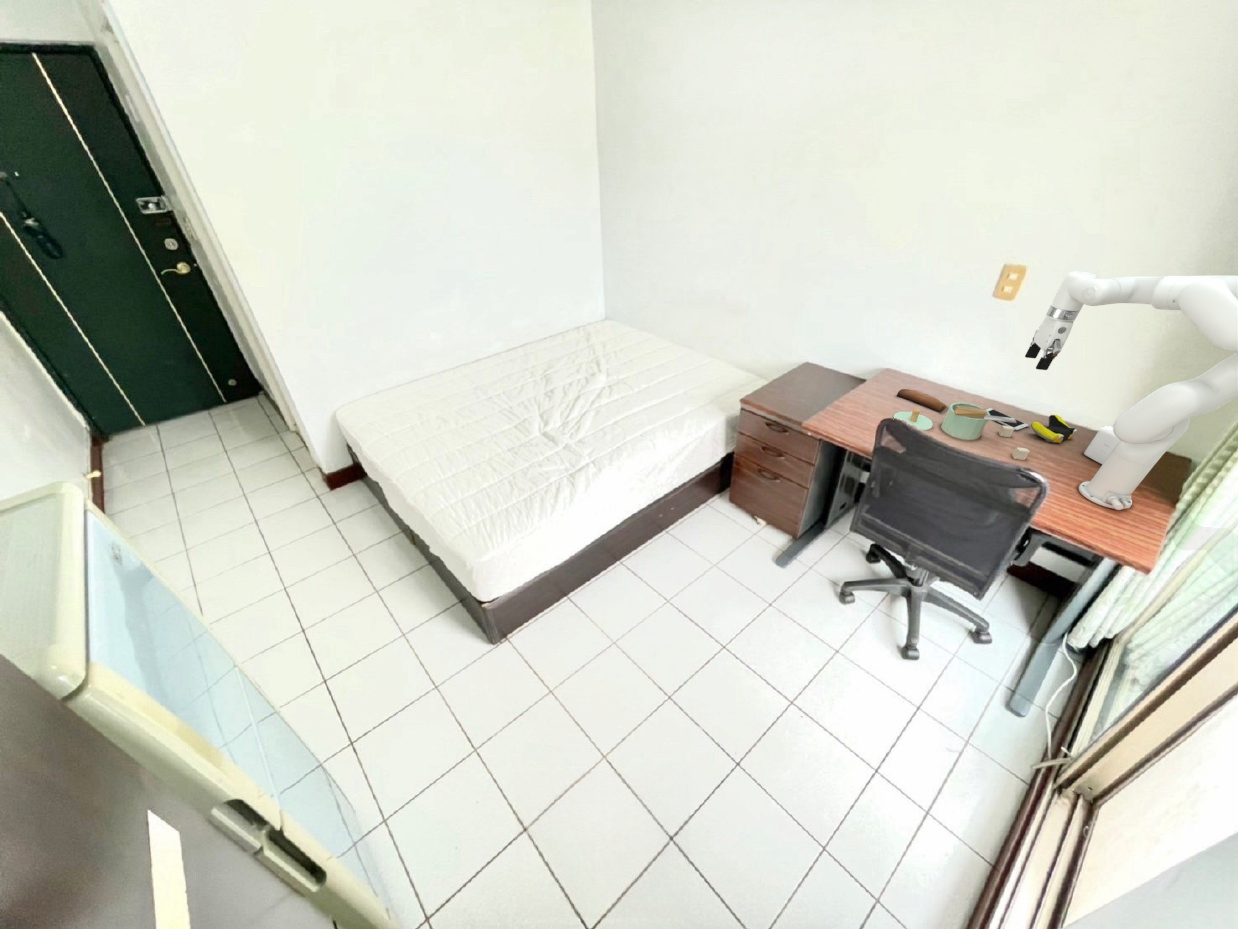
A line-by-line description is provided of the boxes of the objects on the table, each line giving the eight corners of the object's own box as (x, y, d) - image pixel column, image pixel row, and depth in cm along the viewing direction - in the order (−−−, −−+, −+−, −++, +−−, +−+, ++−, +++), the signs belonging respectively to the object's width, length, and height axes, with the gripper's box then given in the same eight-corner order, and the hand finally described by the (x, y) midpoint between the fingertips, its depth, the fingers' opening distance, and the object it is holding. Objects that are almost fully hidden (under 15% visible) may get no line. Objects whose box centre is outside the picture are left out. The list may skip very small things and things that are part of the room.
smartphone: (990, 407, 194) (1029, 425, 183) (989, 408, 195) (1028, 426, 184) (978, 411, 192) (1017, 429, 181) (977, 413, 192) (1016, 431, 181)
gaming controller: (1023, 434, 180) (1052, 447, 173) (1030, 421, 177) (1060, 434, 169) (1046, 424, 185) (1076, 437, 178) (1054, 412, 182) (1084, 424, 175)
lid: (935, 434, 180) (941, 421, 177) (895, 429, 183) (900, 416, 180) (927, 416, 191) (933, 404, 187) (890, 412, 194) (894, 399, 190)
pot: (983, 443, 175) (994, 421, 170) (944, 437, 178) (954, 416, 173) (973, 425, 185) (984, 404, 180) (937, 421, 188) (946, 400, 183)
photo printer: (1080, 453, 169) (1100, 423, 162) (1089, 452, 170) (1110, 421, 163) (1110, 470, 161) (1133, 439, 154) (1120, 468, 162) (1144, 437, 155)
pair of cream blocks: (1024, 460, 167) (1029, 451, 164) (1013, 458, 167) (1018, 450, 165) (1008, 434, 180) (1012, 426, 178) (998, 433, 180) (1002, 425, 178)
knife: (1016, 423, 169) (1020, 416, 167) (955, 415, 174) (958, 408, 172) (1013, 419, 171) (1017, 412, 170) (953, 411, 176) (956, 405, 174)
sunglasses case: (950, 406, 196) (951, 396, 191) (939, 419, 195) (940, 409, 190) (906, 390, 207) (906, 380, 202) (896, 402, 207) (896, 392, 202)
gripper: (1089, 323, 146) (1059, 375, 156) (1064, 305, 159) (1038, 354, 169) (1059, 321, 148) (1032, 372, 158) (1038, 303, 161) (1013, 352, 171)
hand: (1035, 363), depth 163 cm, fingers open, 9 cm apart
